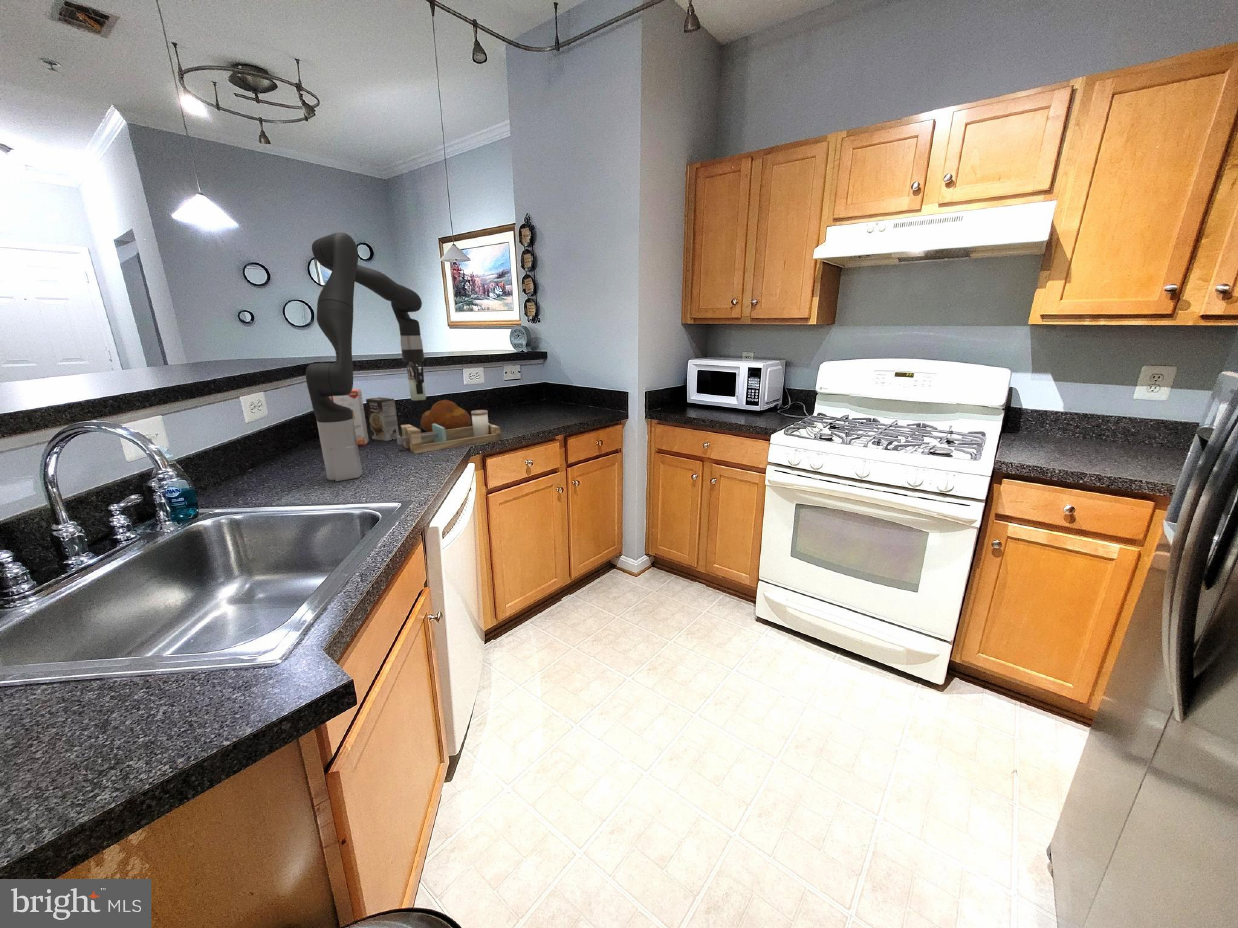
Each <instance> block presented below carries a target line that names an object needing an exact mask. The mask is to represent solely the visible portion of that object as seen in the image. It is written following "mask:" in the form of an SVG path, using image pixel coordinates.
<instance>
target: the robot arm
mask: <svg viewBox="0 0 1238 928" xmlns="http://www.w3.org/2000/svg"><path fill="white" fill-rule="evenodd" d="M357 246H358V245H357V244H356V242H355V240H354V238H353V237H352V236H351V235H349V234H348V233H346V232H342V231H341V232H340V231H339V232H334V233H331V234H328V235H326V236H322V237H319V238H317V239H315V240H314V241H313V242H312V244H311V251H312V256H313V257H314V259H315V261H317V263H319V264H320V265H321V266H322V267H324V268H325V269H326V270H327V271H331V273H330V275H329V277H328V279H327V281H325V284H324V286H323V287H322V289H321V290H320V293H319V295H318V297H317V303H316V323H317V325H318V327H319V328H320V330H321V331H322V333H323V334H324V335H325V337H326V338H327V339H328V341H329V342H330V343H331V345H332V348H333V349H334V352H335V356H336V357H335V359H336V360H335V362H324V363H323V362H322V363H320V362H319V363H318V362H317V363H310V364H308V366H307V367H306V368H305V369H306V370H305V382H306V387H307V390H308V394H309V399H310V401H311V406H312V407H311V408H312V410H313V414H314V416H315V419H316V423H317V429H318V436H319V442H320V448H321V452H322V457H323V458H322V459H323V463H324V467H325V473H326V477H327V480H328V481H334V480H335V482H341V481H346V480H353V479H358V478H360V476H362V475H363V470H362V469H363V467H362V463H361V459H360V451H359V447H358V446H359V445H357V439H356V433H355V426H354V420H353V414H352V410H351V409H350V408H348V407H344V406H341V405H338V404H336V403H334V402H333V401H331V400H330V398H329V396H345V395H349V394H350V393H351V391H352V389H354V369H353V367H354V366H353V364H354V363H353V349H352V347H353V346H352V345H353V342H352V341H353V328H354V325H353V323H354V296H355V295H354V294H355V293H354V292H355V284H356V283H357V284H360V285H361V286H363V287H365V288H367V289H368V290H370V291H372V292H374V293H375V294H376V295H378V296H379V297H381V298H382V299H384V300H386V301H389V302H390V306H391V308H392V311H393V314H394V316H395V319H396V321H397V323H398V327H399V336H400V348H401V349H400V350H401V357H402V358H401V359H402V361H403V362H408V365H406V371H407V372H406V373H407V377H408V376H412V377H413V378H414V379H415V384H416V391H417V394H423V387H422V384H423V383H424V384H425V375H424V367H423V366H421V364H420V362H423V361H425V353H424V346H423V345H424V344H423V340H422V336H421V328H420V322H419V321H418V319H416V318H411V316H410V314H409V313H416V312H418V311H420V310H421V308H422V306H423V302H422V298H421V297H420V295H419V294H418V293H417V292H415V291H414V290H412V289H410V288H408V287H407V286H404V285H401V284H399V283H397V282H396V281H394V280H393V279H392V278H390V277H389V276H388V275H386V274H384V273H383V272H381V271H379V270H376V269H374V268H370V267H367V266H363V265H360V264H359V251H358V250H359V249H358V247H357ZM418 378H420V380H418Z"/></svg>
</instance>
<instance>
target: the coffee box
mask: <svg viewBox="0 0 1238 928" xmlns="http://www.w3.org/2000/svg"><path fill="white" fill-rule="evenodd" d="M365 402H366V409H367V414H368V415H367V416H368V421H369V428H370V434H371V439H372V440H377V441H384V442H388V441H389V442H390V441H393V440H397V436H400V433H399V432H400V431H399V426H398V425H399V424H398V416H397V409H396V402H395V398H390V397H371V398H366V399H365ZM392 439H393V440H392Z"/></svg>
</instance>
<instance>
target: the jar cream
mask: <svg viewBox="0 0 1238 928" xmlns="http://www.w3.org/2000/svg"><path fill="white" fill-rule="evenodd" d="M488 413H489V412H488V410H487V409H475V410H471V412H470V415H471V425H472V426H473V434H474V436H473V437H477V436H483V435H489V425H488V423H489V417H488Z"/></svg>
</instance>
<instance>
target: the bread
mask: <svg viewBox="0 0 1238 928" xmlns="http://www.w3.org/2000/svg"><path fill="white" fill-rule="evenodd" d="M432 424H437V425H439V426H442V427H444V428H445V430H448V429H456V428H463V427H470V426H471V425H472V417H471V416H470V414H469V413H468V411H466V409H463V408H462V407H460V406H458V405H457V403H455V402H454V401H452V400H448V399H442V400H439V401H437V402H435V403H434V404H433V405H432V406H431V408H430V409H429V410H426V411H425V412H424V413H422V414H421V419H420V426H421V428H422V429H423V431H425V432H433V429H432Z"/></svg>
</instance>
